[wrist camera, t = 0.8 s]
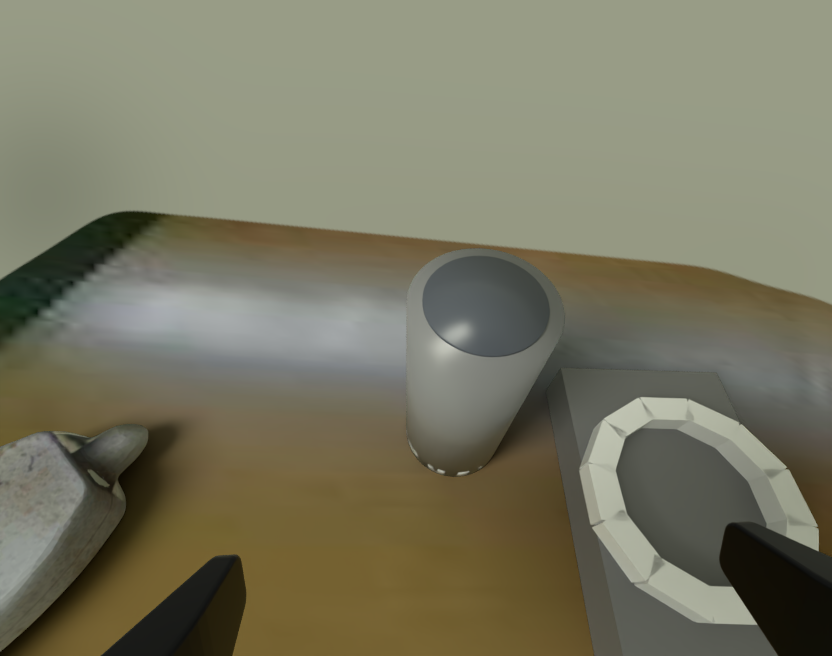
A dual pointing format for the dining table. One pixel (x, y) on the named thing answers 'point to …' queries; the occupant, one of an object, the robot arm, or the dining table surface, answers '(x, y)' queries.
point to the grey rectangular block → (665, 508)
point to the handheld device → (56, 514)
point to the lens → (474, 353)
